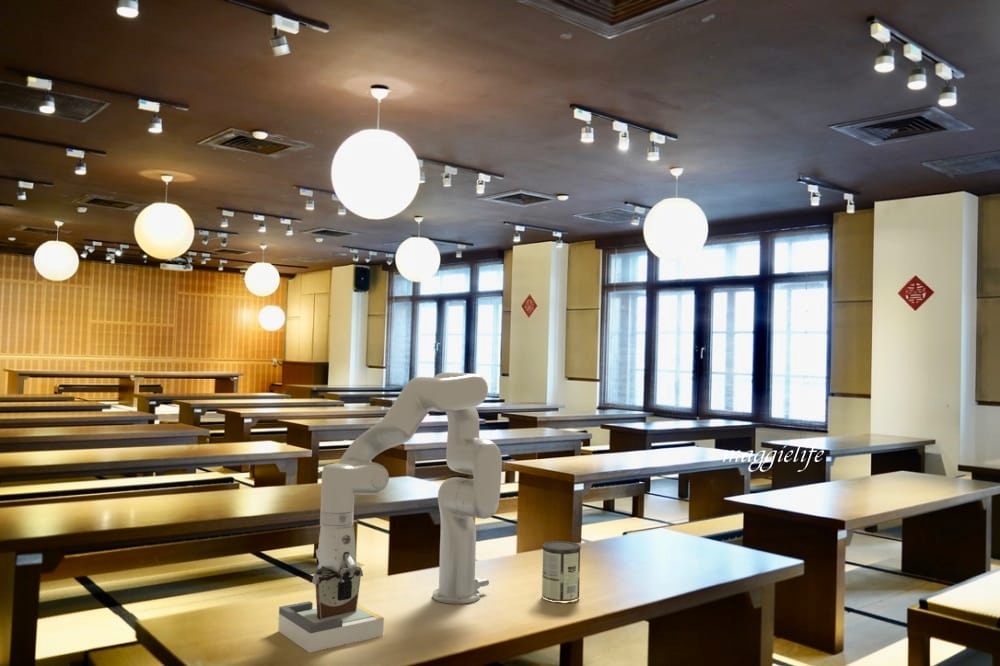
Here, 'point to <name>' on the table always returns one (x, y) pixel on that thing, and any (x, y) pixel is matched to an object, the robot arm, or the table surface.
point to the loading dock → (327, 626)
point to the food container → (334, 593)
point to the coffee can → (561, 571)
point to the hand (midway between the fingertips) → (334, 594)
